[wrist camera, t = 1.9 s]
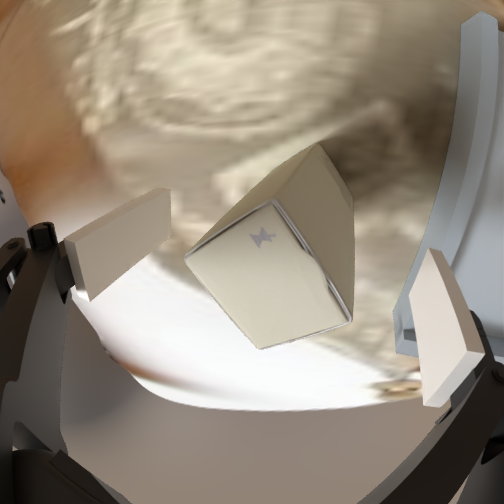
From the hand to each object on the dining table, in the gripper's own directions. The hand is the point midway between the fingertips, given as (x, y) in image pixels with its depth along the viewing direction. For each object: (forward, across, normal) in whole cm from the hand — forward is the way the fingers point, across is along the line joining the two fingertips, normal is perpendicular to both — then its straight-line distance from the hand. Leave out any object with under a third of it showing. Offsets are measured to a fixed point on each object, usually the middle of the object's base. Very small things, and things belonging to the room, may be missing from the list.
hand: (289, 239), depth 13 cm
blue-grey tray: (+8, +16, +4) cm, 18 cm away
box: (+8, 0, 0) cm, 8 cm away
